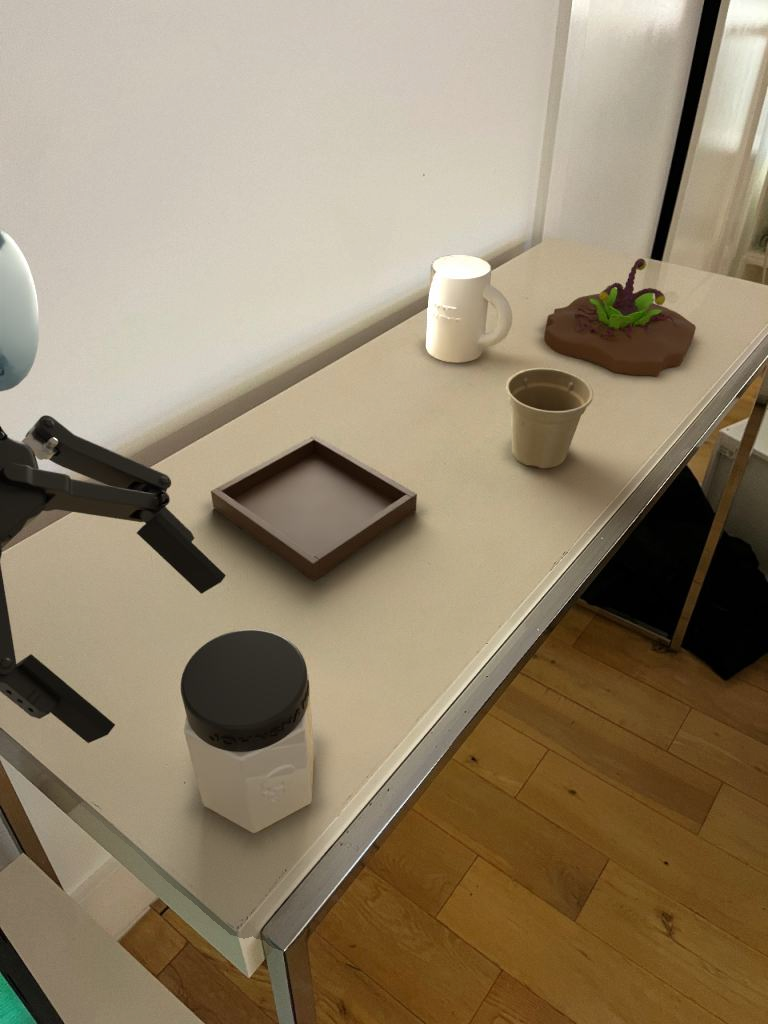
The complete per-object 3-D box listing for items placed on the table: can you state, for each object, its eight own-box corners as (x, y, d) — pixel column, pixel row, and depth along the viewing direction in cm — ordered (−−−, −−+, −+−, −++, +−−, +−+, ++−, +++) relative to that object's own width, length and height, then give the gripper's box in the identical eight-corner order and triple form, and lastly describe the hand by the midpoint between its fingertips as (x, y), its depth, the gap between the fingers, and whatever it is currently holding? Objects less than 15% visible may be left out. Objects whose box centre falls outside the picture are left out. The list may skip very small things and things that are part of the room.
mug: (492, 377, 103) (503, 291, 96) (414, 353, 108) (418, 270, 100) (517, 352, 109) (529, 269, 101) (442, 330, 113) (448, 250, 106)
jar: (225, 854, 53) (202, 755, 46) (183, 763, 59) (155, 660, 51) (339, 792, 57) (336, 690, 49) (290, 711, 62) (279, 609, 54)
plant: (712, 336, 113) (735, 261, 106) (655, 388, 102) (677, 308, 94) (589, 297, 123) (602, 226, 116) (524, 341, 111) (535, 265, 104)
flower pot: (481, 455, 90) (488, 390, 84) (525, 421, 95) (535, 358, 90) (551, 488, 85) (564, 422, 79) (594, 451, 91) (609, 387, 85)
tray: (314, 581, 74) (313, 564, 72) (213, 508, 82) (210, 490, 80) (416, 511, 82) (417, 493, 80) (315, 450, 90) (314, 434, 88)
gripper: (20, 356, 58) (223, 553, 64) (-312, 578, 40) (14, 824, 46) (62, 300, 53) (277, 519, 59) (-294, 524, 35) (68, 807, 41)
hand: (163, 652), depth 52 cm, fingers open, 13 cm apart
